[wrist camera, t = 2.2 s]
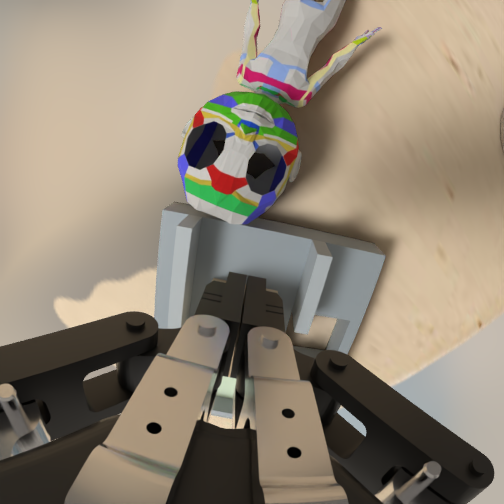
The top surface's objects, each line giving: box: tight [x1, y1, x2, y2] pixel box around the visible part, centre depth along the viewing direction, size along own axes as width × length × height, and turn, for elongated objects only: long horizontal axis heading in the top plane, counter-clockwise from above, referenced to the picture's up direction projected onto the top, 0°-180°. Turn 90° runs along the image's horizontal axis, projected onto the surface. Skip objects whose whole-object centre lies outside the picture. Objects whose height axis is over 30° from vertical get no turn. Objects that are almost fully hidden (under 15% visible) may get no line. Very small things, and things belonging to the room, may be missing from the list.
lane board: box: [154, 202, 386, 419], centre depth 25 cm, size 17×18×6 cm
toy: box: [178, 0, 382, 224], centre depth 17 cm, size 10×8×30 cm
